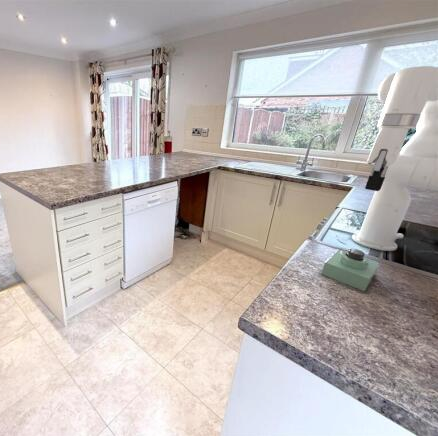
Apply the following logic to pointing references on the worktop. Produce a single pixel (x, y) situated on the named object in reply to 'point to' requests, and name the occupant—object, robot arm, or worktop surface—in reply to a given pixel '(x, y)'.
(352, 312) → the worktop surface
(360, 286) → the green stepped base
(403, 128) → the robot arm
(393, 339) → the worktop surface
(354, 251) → the grey metal rounded piece
